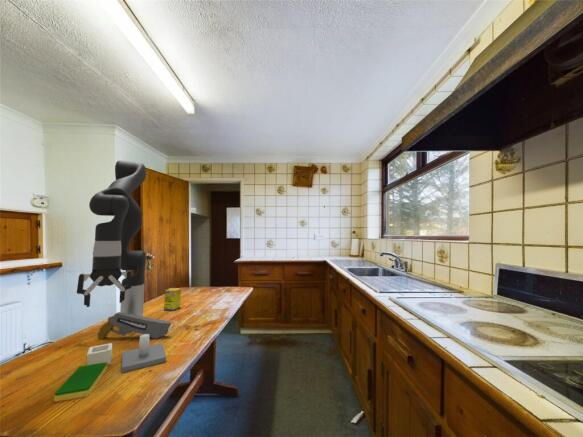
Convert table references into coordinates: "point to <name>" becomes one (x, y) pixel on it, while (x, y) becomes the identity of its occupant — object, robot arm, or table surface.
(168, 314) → the table surface
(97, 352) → the ring
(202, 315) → the table surface
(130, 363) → the post stand
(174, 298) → the supplement box
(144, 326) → the gun
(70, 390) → the dish sponge
